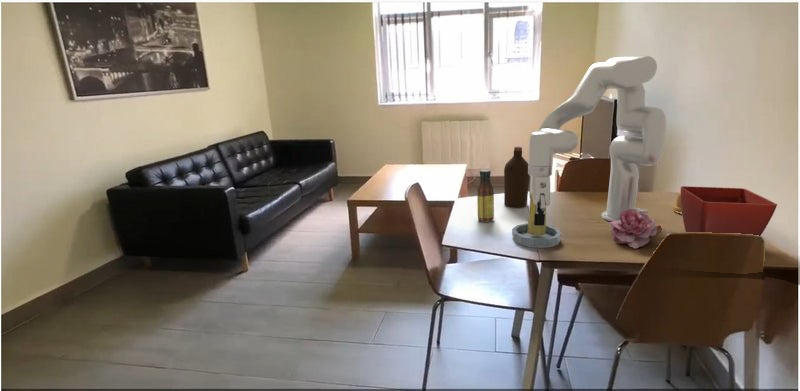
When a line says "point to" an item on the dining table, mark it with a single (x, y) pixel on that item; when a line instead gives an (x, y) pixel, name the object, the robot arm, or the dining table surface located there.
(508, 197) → the olive oil
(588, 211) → the dining table surface
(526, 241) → the round tray
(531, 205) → the vase
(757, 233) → the plant pot
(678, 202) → the ornamental finial
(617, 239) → the flower
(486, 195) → the sauce bottle
